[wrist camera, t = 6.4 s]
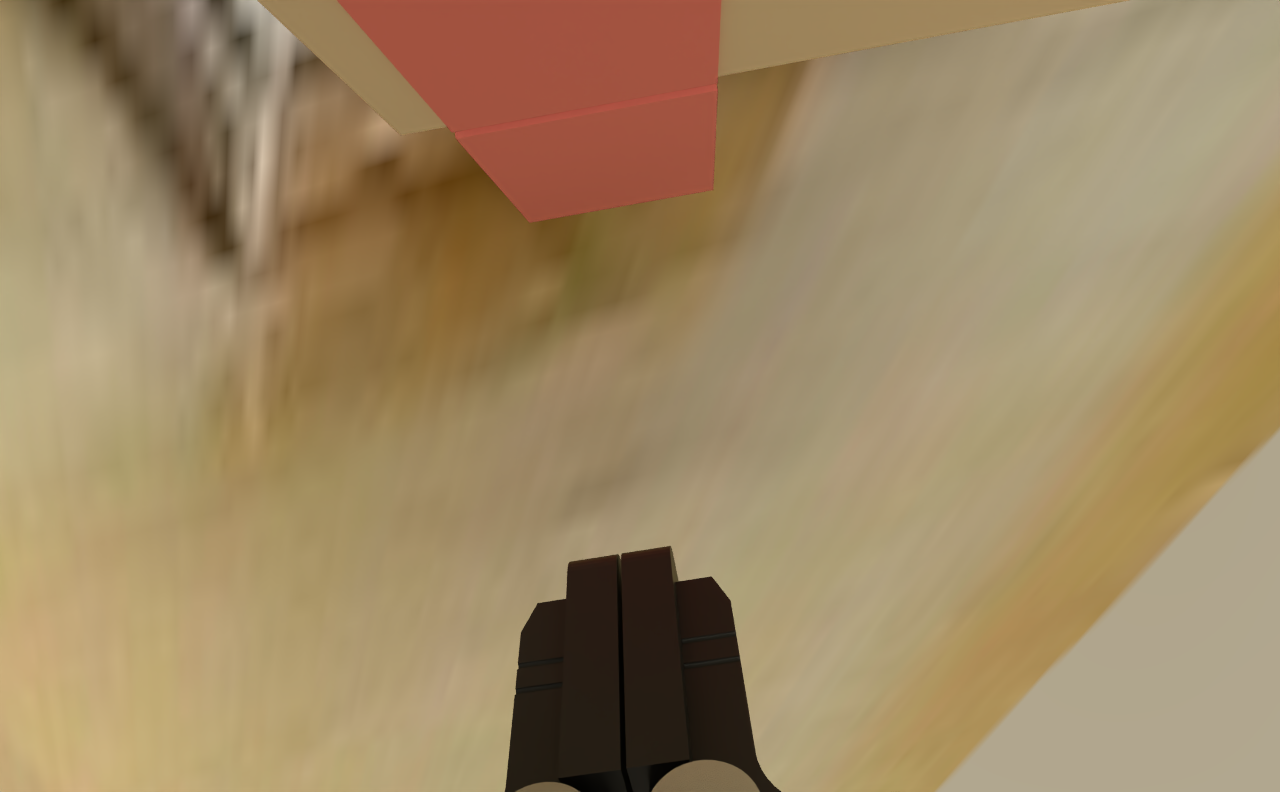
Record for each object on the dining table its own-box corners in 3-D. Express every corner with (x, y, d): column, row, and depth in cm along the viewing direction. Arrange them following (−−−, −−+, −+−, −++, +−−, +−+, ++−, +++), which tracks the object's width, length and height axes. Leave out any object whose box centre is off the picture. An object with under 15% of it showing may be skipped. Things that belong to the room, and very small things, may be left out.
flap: (131, -160, 11) (141, -92, 11) (1738, -497, 10) (1754, -422, 10) (489, 203, 30) (493, 229, 30) (1063, 100, 29) (1068, 126, 29)
